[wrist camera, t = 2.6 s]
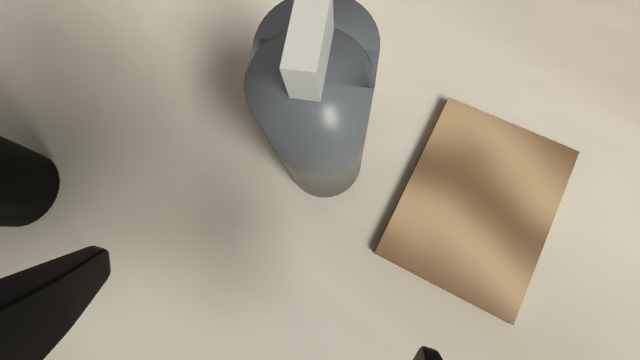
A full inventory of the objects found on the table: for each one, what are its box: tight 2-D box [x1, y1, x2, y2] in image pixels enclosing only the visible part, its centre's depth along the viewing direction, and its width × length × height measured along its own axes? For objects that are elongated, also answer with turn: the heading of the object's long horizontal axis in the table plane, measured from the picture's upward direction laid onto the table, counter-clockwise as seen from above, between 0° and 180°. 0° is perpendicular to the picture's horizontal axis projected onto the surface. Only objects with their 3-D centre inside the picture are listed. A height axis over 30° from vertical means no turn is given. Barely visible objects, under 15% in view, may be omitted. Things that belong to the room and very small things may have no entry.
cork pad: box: [374, 98, 579, 325], centre depth 22 cm, size 12×9×1 cm
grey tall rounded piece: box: [244, 0, 380, 197], centre depth 17 cm, size 7×5×13 cm
